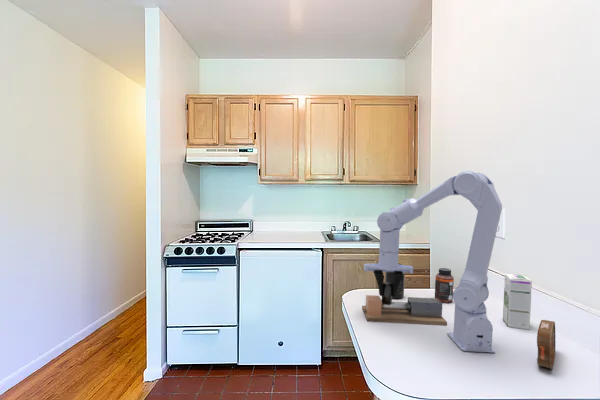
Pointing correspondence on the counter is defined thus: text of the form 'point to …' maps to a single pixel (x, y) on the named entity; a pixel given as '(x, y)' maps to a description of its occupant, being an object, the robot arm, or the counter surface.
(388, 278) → the supplement bottle
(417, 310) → the sleeve
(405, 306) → the slide bolt
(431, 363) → the counter surface
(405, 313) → the base board
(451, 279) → the supplement bottle
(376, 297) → the socket
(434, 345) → the counter surface
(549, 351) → the tin
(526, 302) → the syrup box
